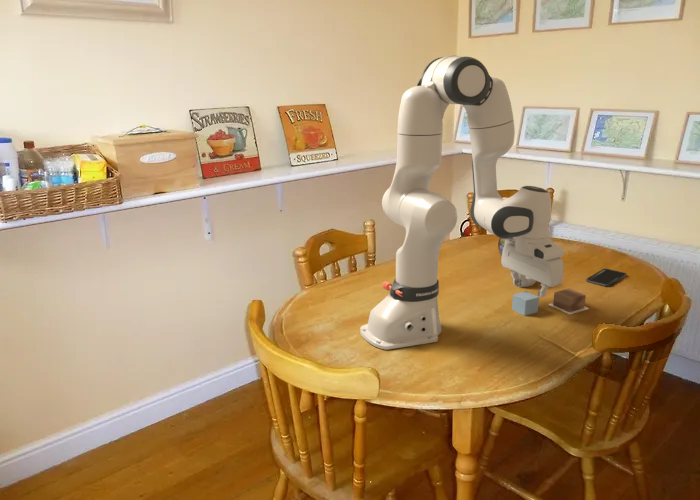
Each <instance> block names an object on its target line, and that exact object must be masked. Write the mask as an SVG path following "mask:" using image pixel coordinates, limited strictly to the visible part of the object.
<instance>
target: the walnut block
mask: <svg viewBox="0 0 700 500" xmlns="http://www.w3.org/2000/svg"><path fill="white" fill-rule="evenodd" d="M586 297H587V294H584V293H582V292H579V291H576V290H575V289H572V288H565V289H562V290H558V291H554V292H553V305H554V306H556V307H559V308H561V309H563V310H565V311H567V312H572V311H576V310H579V309H583V308H584V306H585V303H586ZM585 307H586V306H585Z"/></svg>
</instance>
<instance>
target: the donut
mask: <svg viewBox="0 0 700 500" xmlns="http://www.w3.org/2000/svg"><path fill="white" fill-rule="evenodd" d="M518 274H519V273H518ZM519 278H520V279H521V280H522V281H521V285H520V286H518V287H520V288H527V287H530V286H531V287H532V286H533V285H534V284H536V282H537V281H536V280H533V279H531V278H529V277H526V276H524V275H522V274H519Z"/></svg>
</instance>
